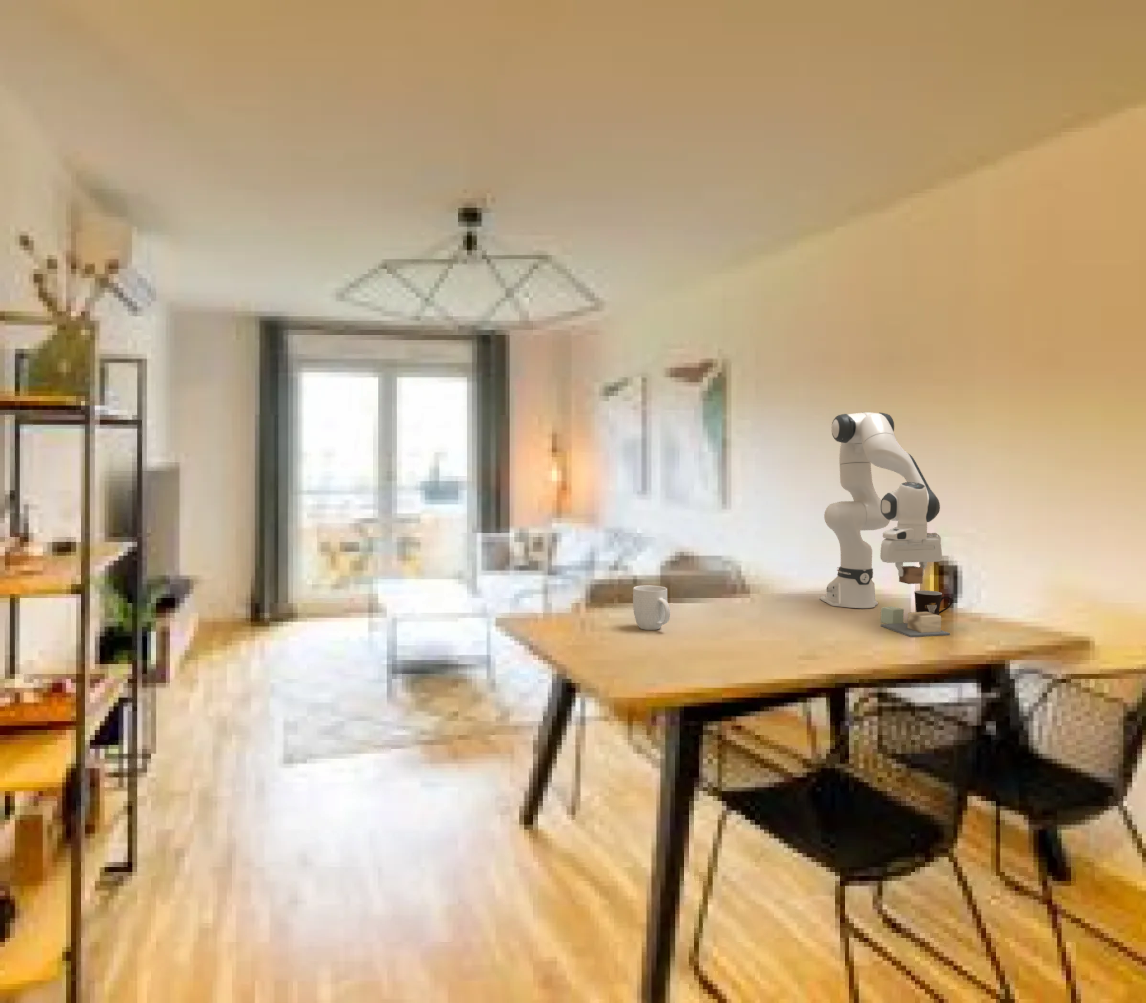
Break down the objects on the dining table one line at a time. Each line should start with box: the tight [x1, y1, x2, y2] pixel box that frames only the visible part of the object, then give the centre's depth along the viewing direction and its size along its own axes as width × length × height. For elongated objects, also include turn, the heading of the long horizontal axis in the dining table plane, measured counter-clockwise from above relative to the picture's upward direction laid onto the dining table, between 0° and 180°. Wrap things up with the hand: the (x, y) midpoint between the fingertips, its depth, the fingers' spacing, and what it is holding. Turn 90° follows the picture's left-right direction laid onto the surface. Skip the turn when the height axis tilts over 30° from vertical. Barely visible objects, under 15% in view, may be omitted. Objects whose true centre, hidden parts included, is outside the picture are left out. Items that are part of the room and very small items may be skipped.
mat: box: [880, 622, 951, 638], centre depth 266 cm, size 16×14×1 cm
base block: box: [907, 611, 942, 633], centre depth 264 cm, size 7×7×5 cm
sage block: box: [880, 606, 905, 624], centre depth 277 cm, size 5×5×5 cm
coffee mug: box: [914, 589, 953, 616], centre depth 279 cm, size 12×9×10 cm
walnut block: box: [898, 565, 924, 585], centre depth 264 cm, size 5×5×5 cm
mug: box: [632, 584, 671, 631], centre depth 264 cm, size 15×11×13 cm
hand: (910, 576), depth 265 cm, fingers closed on walnut block, 5 cm apart
